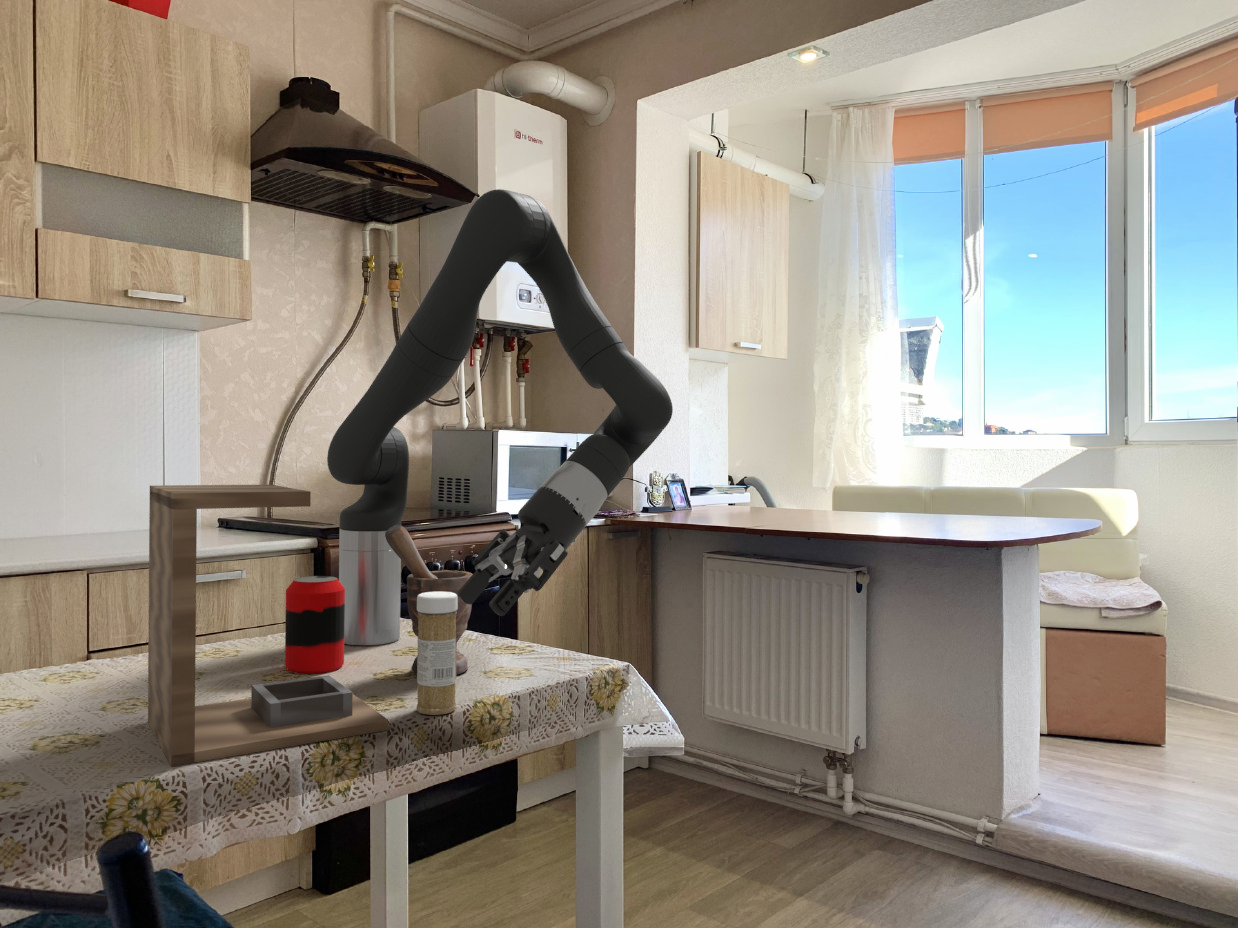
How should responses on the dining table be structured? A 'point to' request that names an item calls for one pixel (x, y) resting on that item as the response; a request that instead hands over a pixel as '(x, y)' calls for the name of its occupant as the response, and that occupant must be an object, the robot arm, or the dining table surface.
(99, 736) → the dining table surface
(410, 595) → the mortar and pestle
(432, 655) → the sprinkles bottle
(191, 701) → the overhang stand
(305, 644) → the soda can
